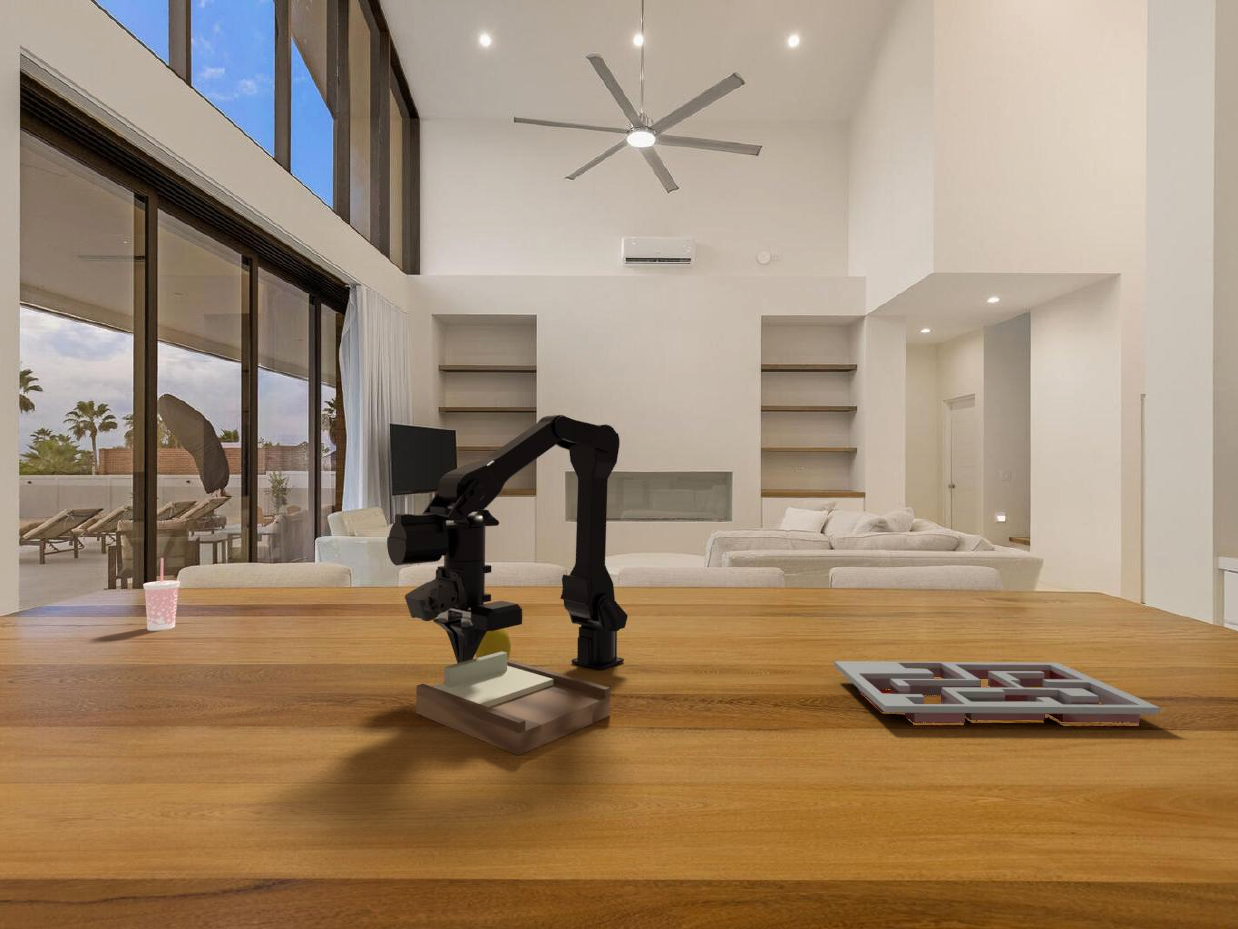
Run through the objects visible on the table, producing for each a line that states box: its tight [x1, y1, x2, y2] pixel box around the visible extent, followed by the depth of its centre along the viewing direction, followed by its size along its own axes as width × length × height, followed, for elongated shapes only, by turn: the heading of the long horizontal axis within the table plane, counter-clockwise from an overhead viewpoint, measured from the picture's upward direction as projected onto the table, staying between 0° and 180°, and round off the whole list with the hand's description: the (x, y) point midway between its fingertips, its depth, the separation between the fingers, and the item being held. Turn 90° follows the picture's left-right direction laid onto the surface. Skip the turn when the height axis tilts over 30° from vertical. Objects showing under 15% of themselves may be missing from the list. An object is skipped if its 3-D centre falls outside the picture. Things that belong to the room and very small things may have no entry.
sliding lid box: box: [415, 658, 611, 757], centre depth 88 cm, size 16×20×4 cm
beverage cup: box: [142, 557, 181, 632], centre depth 134 cm, size 6×6×14 cm
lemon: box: [475, 628, 512, 660], centre depth 106 cm, size 6×6×8 cm
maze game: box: [833, 660, 1161, 724], centre depth 95 cm, size 35×20×3 cm, turn 90°
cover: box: [431, 652, 553, 707], centre depth 91 cm, size 13×10×3 cm
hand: (463, 668), depth 95 cm, fingers closed
